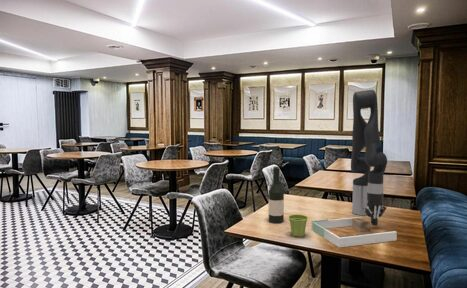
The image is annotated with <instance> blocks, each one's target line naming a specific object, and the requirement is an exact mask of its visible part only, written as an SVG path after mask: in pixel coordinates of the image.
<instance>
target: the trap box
mask: <svg viewBox="0 0 467 288" xmlns="http://www.w3.org/2000/svg"><path fill="white" fill-rule="evenodd" d="M356 218H364V216H354V217H347V218H345V217H344V218H336V219H335V218H334V219H328V218H323V219H311V222H310V223H311V226H310V227H311V230H312V231H313V232H314V233H316V234H318V235H319V236H321V237H322V238H324V239H326V240H327V241H328V242H330V243H331V244H333V245H334V246H336V247H337V248H346V247H354V246H362V245H364V246H365V245H369V244H371V243H372V244H380V243H387V242H395V241H397V239H398V238H397V237H398V236H397V233H398V232H397V231H396V230H393V231H386V232H377V233H373V232H365V233H364V232H363V233H355V235H352V236H351V235H349V234H347V235H339V236H338V235H336V234H335V233H333V232H332V231H331V230H329V229H333V228H335V229H336V228H345V227H352V219H356Z"/></svg>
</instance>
